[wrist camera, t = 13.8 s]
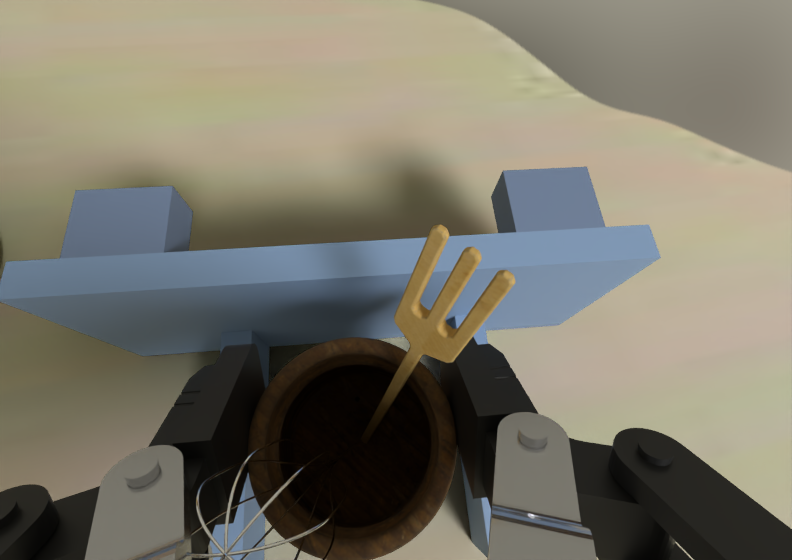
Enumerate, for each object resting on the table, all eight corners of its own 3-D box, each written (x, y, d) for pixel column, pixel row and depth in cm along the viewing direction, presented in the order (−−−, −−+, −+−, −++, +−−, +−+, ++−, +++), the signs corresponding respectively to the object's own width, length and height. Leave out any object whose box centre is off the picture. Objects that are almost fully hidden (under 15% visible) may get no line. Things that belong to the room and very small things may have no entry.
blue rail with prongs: (606, 526, 17) (777, 586, 10) (110, 582, 16) (-119, 700, 9) (542, 259, 22) (627, 164, 15) (152, 284, 21) (25, 192, 13)
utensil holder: (252, 458, 16) (-33, 476, 5) (358, 334, 18) (330, 146, 7) (371, 570, 15) (356, 939, 4) (470, 423, 17) (655, 369, 6)
